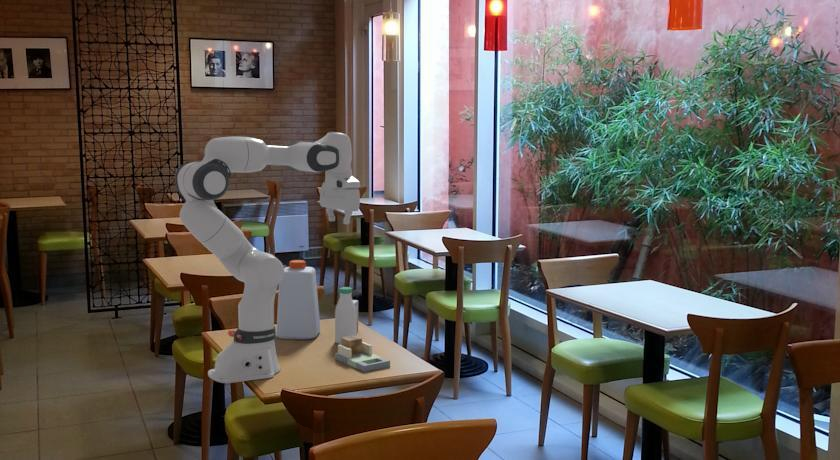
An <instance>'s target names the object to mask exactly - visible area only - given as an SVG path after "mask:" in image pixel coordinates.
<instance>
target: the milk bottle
mask: <svg viewBox="0 0 840 460" xmlns="http://www.w3.org/2000/svg"><path fill="white" fill-rule="evenodd" d="M338 294H339V298H338V301H337V303H336V306H335V311H334V333H335V334H334V339H335V340H334V341H335V343H336V344H337V345H340V344H341V345H342V342H341V338H342V337H348V336H353V335H354V336H357V337H358V335H357V332H358V331H357V320H356V308H355V305H354V303H353V300H354V299H353V297H352V295H353V288H352V287H350V286H342V287H339V289H338Z"/></svg>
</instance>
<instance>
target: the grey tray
mask: <svg viewBox="0 0 840 460" xmlns="http://www.w3.org/2000/svg"><path fill="white" fill-rule="evenodd" d="M334 360H336V361H339V362H341V363H343V364H346V365H347V366H350V367H352V368H354V369H357V370H358V371H361V372H364V373H366V372H371V370H372V371H376V370H380V369H381V370H382V369H385V367H386V368H390V367H391V360H389V359H386V358H385V357H381V356H379V355H377V354H375V353H373V345H372V344H370V343H367V342H364V341H362V353H359V354H354V355H352V349H350V348H348V347H345V346H343V345H342V344H337V352H336V353H334Z"/></svg>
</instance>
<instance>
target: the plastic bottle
mask: <svg viewBox="0 0 840 460" xmlns="http://www.w3.org/2000/svg"><path fill="white" fill-rule="evenodd" d="M306 263H307V262H306V261H305V260H302V259H293V260H290V261H289V263H288V264H289V265H288V266H285V267H284V276H283V279H282V281H281V282H280V283H279V284H278V296H277V311H276V313H277V314H276V317H277V318H276V329H275V330H276V338H278V339H280V340H295V341H296V340H299V341H300V340H301V341H302V340H306V341H307V340H313V339H315V338H316V337H318V335H319V333H320V332H321V321H320V310H319V309H320V308H319V298H318V285H317V274H316V273H317V272H316V269H315V268H314V267H313V266H307V264H306Z"/></svg>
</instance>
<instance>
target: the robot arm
mask: <svg viewBox="0 0 840 460" xmlns="http://www.w3.org/2000/svg"><path fill="white" fill-rule="evenodd" d="M352 150H353V149H352V142H351V139H350V136H349V135H348V134H346V133H344V132H343V133H342V132H335V131H329V132H327V133H326V135H324V136H323V137H322V138H320V139H318V140H316V141H311V142H310V141H309V142H307V141H302V140H299V141H295V142H292V143H291V144H288V145H284V146H283V145H267V144H266V143H265V142H264V140H262V139H258V138H255V137H250V136H239V135H238V136H236V135H235V136H222V137H221V136H220V137H215V138H212V139H210V140H209V141H208V142H207V144H206V145H205V147H204V156H203V158H202V160H200V161H188V162H185V163H183V164H181V165H180V166H179V167H178V168H177V170H176V171H175V173H174V178H173V179H174V184H175V188H176V189H177V191H178V194H179V198H180V199H181V200H182V201H183V202H184V203H183V205H182V207H181V208H180V211H179V220H180V221H181V223H182V224H183V226H184V227H185V228H186V229H187V230H188V232H189V233H190V234H191V235H192V236H193V237H194V238H195V239H196V240H197V241H198V242H199V243H201V245H203V247H205V248H206V249H207V250H208V251H209V252H211V253H212V254H213V255H214V256H215V257H216V258H217V259H218V261H220V262H221V264H222V265H223V266H224V268H226V270H227V271H228V272H229V273H230V274H231V276H232V277H234V278H235V279H236V280H238V281H239V282H243V283H244V288H243V293H242V297H241V299H240V301H239V302H238V305H237V306H238V307H237V308H238V309H237V313H238V328H237V329H236V330H233V329H229V330H228V329H227V330H228V331H227V335H228V336H229V337H232V338H233V340H232V341H231V343H229V344H228V345H227V346H226V347H225V348H224V349H222V351H220V352H219V353H218V354H217V355H216V357H215V363H214V368H211V369H209V370H208V371H207V377H208V378H210V379H211V380H212V381H215V382H217V383H221V384H232V383H233V384H234V383H240V382H249V381H257V380H264V379H271V378H273V377H274V376H275V374H277V373H279V372H280V371H281V367H280V365H279V360H278V354H277V351H276V349H277V348H276V343H277V341H276V340H277V335H276V330H277V329H276V326H275V298H276V294H277V290H278V288H279V283H280V282H281V281H282V279H283V276H284V268H285V267H284V264H283V263H282V261H281V260H279V258H278V257H276V256H274V255H273V254H272V253H269V252H265V251H261V250H260V249H258V248H256V247H255V246H253V245H252V244H251V242H250V241H249V240H248V239H247V237H246V236H245V234H244V232H243V231H242V230H241V228H240V227H238V226H237V225H236V224H235V223H234V222H233V221H232V220H231V219H230V218H229V217H228V216H227V215H226V214H224V213H223V212H222V211H221V210H220V209H218V207H217V205H216V203H215V201H214V200H217V199H220V198H221V197H223V196H224V195H225V194H226V192H227V191H228V188H229V185H230V177H231V174H232V173H237V174H238V173H239V174H240V173H241V174H243V173H247V174H248V173H255V172H262V170H264V169H265V168H266V166H285V167H288V168H290V169H292V170H293V171H296V172H311V173H322V172H324V173H325V178H324V180H323V182H322V185H321V186H320V192H319V204H320V207H321V208H326V209H325V210H326V213H327V216H328V221H329V222H335V221H336V215H335V214H334V211H335V210H340V211H343V214H344V217H343V218H342V224H344V225H350V223H351V217H352V216H353V215H352V214H353V212H357V211H359V209H360V204H361V201H360V200H361V194H360V190H359V188H360V187H361V181H359V180H358V179H357V178H355V177H354V176H353V170H352V160H353V155H352V154H353V152H352Z"/></svg>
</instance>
